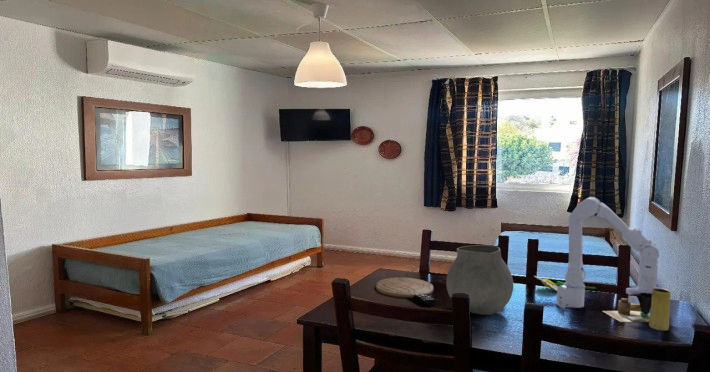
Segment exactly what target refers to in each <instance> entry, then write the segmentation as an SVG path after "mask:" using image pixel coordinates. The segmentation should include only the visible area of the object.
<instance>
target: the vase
mask: <svg viewBox="0 0 710 372" xmlns="http://www.w3.org/2000/svg"><path fill="white" fill-rule="evenodd" d="M660 288H661V287H657V288H654V289H653V290H652V302H651V309H650V311H649V313H650V319H649V322H648V327H650V328H651V329H653V330H657V331H669V330H670V304H671V291H670V290H668V289H667V290H665V289H666V288H665V289H660Z"/></svg>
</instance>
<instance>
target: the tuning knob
mask: <svg viewBox="0 0 710 372" xmlns="http://www.w3.org/2000/svg"><path fill="white" fill-rule="evenodd" d="M617 311H618V313H621V314H626V315H628V314H630V311H639V312H641V307H640V303H632V302H631V301H629V298H626V297H625V298H624V297H621V298H620V299H619V300H618V304H617Z"/></svg>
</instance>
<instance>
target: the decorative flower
mask: <svg viewBox="0 0 710 372" xmlns="http://www.w3.org/2000/svg"><path fill="white" fill-rule="evenodd" d="M533 277H534V278H536V279H537V280H538V281H541V283H542V284H543V285H544V286H545V287H547V288H549V289H553V290H555V291H556V292H557V289H558V287H559V286H560V285H564V284H565V282H564V281H559V280H556V282H553V281H551V280H550V279H547V278H540V277H538V276H536V275H533ZM585 289H588V290H589V289H590V290H596V289H597V288H596V287H594V286H586V285H585Z"/></svg>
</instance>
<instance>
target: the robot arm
mask: <svg viewBox="0 0 710 372" xmlns="http://www.w3.org/2000/svg"><path fill="white" fill-rule="evenodd" d="M594 215H596V217H598V218H601V219H605V220H606V221H607V222H608V223H610V224H611V225H612V226H613V227H614V228H616V229H617V231H619V232H620V233H621V234H622V236H621V237H622V240H623V241H624V242H626V243H627V244H628V245H629V246H630V247H631V248H632V249H633V250H634V251H635V252H637V253H639V257H640V262H639V264H638V277H637V278H638V279H637V286H633V287H626V288H625V293H626V294H627V295H629V296H630V295H631V296H632V295H635V297H636V298H637V300H638V301H637V302H638V304H640V307H641V312H642V313H644V314H649V313H650V312H651V302H652V290H653V289H654V288H658V287H657V281H658V279H657V278H658V267H659V266H658V264H659V261H658V259H659V257H660V251H659V250H660V249H659V248H658V247H657V245H656V244H655V243H653V241H652V240H651V239H650V240H649V239H648V238H647V237H646V236H645V235H643V234H642V230H640V229H637V228H635V227H629V226H628V225H627V224H626V223H625V222H624V221H623V219H621V218H620V217H619V216H618V215H617V214H616V213H615V212H614V211H613V210H612V209H611V208H610V207H609V206H608V205H606V204H605V203H604V202H601V200H600V199H598V197H594V196H589V197H587V198H585V199H583V200H582V201H581V202H579V203H578V204H577V205H576V207H575V208H574V209H573V211H572V212H571V213H570V214H569V217H568V264H567V271H566V274H565V276H564V280H565V282H564V283H565V284H564V285H558V289H557V291H556V302H555V305H557V306H558V307H560V309H562V310H564V311H565V310H566V308H576V309H577V308H578V309H581V308H584V307H585V295H586V294H585V293H586V288H585V286H586V285H585V283H584V280H585V279H586V275H587V274H586V270H585V269H584V262H583V221H585V220H586V219H587V218H588V217H592V216H594ZM659 288H660V289H665V290H668V289H667V288H665V287H659Z"/></svg>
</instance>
